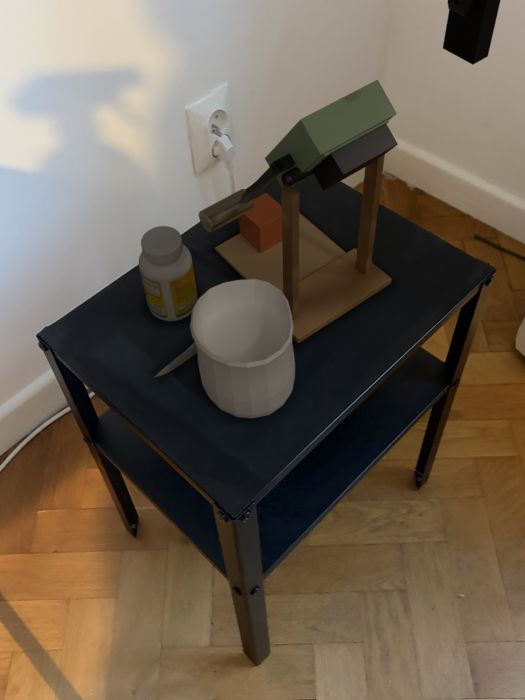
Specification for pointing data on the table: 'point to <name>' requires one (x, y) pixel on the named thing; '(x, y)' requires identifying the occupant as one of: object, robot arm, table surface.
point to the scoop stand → (331, 264)
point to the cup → (245, 347)
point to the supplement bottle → (167, 274)
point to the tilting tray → (319, 150)
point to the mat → (280, 255)
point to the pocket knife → (179, 360)
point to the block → (262, 223)
